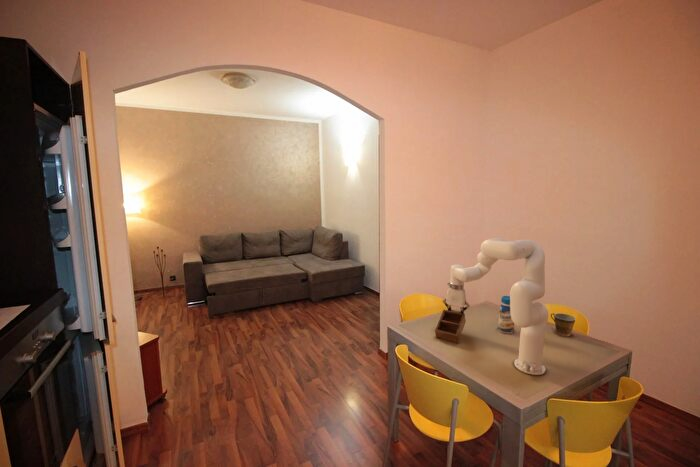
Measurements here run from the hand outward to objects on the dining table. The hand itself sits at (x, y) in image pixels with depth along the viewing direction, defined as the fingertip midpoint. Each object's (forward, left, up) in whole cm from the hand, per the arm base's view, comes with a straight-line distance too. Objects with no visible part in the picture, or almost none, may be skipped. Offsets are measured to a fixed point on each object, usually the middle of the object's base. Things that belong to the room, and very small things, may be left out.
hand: (455, 315), depth 185 cm
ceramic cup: (+29, -51, -9) cm, 60 cm away
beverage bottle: (+15, -25, -9) cm, 31 cm away
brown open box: (-16, 0, -6) cm, 17 cm away
